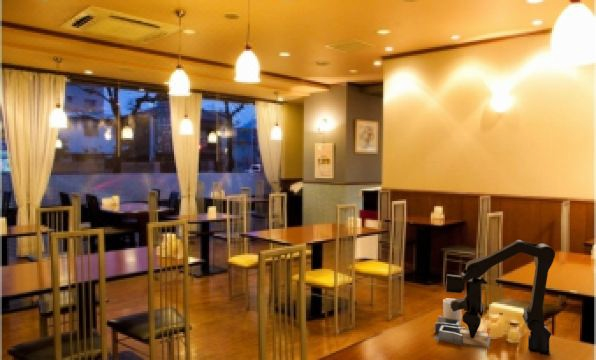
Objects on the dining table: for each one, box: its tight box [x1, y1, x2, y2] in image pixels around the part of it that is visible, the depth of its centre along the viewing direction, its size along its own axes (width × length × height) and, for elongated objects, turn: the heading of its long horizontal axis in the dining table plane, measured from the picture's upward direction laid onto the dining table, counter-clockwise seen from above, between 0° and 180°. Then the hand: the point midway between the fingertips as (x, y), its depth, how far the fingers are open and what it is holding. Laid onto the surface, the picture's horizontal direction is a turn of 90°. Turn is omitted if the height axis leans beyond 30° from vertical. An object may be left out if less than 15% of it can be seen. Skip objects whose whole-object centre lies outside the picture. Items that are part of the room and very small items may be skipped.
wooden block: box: [460, 329, 488, 347], centre depth 176 cm, size 10×4×4 cm, turn 64°
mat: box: [433, 328, 492, 349], centre depth 183 cm, size 20×17×1 cm
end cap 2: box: [438, 325, 466, 347], centre depth 180 cm, size 9×10×4 cm
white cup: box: [442, 298, 463, 325], centre depth 198 cm, size 8×8×10 cm
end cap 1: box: [434, 315, 461, 334], centre depth 189 cm, size 9×10×4 cm
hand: (473, 333), depth 176 cm, fingers open, 9 cm apart
